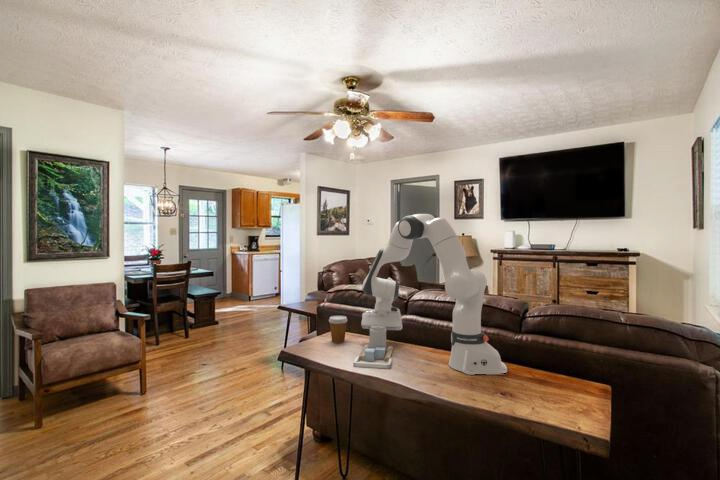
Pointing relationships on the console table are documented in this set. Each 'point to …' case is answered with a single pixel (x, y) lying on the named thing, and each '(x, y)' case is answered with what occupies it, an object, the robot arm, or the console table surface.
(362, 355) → the slot rails
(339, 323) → the disposable coffee cup
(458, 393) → the console table surface
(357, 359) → the white u-shaped frame
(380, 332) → the can
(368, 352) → the light blue cubic block
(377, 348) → the light blue boxy piece
